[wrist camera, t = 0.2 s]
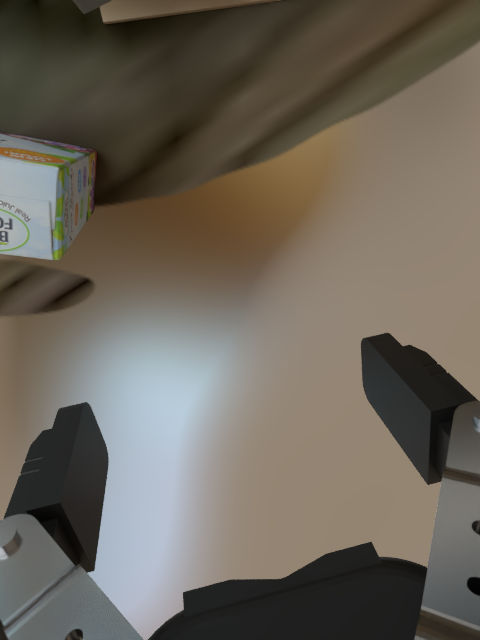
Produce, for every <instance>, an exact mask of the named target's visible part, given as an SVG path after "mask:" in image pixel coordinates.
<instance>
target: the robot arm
mask: <svg viewBox="0 0 480 640" xmlns="http://www.w3.org/2000/svg"><path fill="white" fill-rule="evenodd" d="M361 356H362V376H363V377H362V378H363V387H364V391H365V394H366V396H367V399H368V401H369V403H370V404H371V405H372V407H373V408H374V410H375V411H376V413H377V414H378V415H379V417H380V418H381V420H382V421H383V422H384V424H385V425H386V427H387V428H388V429H389V431H390V432H391V434H392V435H393V437H394V438H395V439H396V441H397V442H398V443H399V445H400V446H401V448H402V449H403V451H404V452H405V453H406V455H407V456H408V458H409V459H410V461H411V462H412V463H413V465H414V466H415V467H416V469H417V470H418V472H419V473H420V475H421V476H422V477H423V479H424V480H425V482H426V483H427V484H428V485H429V484H433V483H437V482H441V487H440V493H439V499H438V506H437V512H436V518H435V525H434V531H433V537H432V543H431V550H430V556H429V562H428V568H427V567H425V566H422V565H420V564H417V563H414V562H411V561H407V560H403V559H398V558H391V557H379V556H378V554H377V552H376V550H375V548H374V546H373V544H372V542H369V543H365V544H361V545H358V546H354V547H350V548H346V549H343V550H339V551H335V552H331V553H328V554H325V555H323V556H322V557H320V558H318V559H316V560H315V561H313V562H311V563H309V564H308V565H306V566H305V567H303V568H301V569H299V570H297V571H296V572H294V573H292V574H290V575H289V576H287V577H285V578H282V579H262V580H261V579H256V580H255V579H253V580H252V579H250V580H227V581H224V582H220V583H216V584H212V585H209V586H206V587H202V588H198V589H194V590H190V591H186V592H183V599H184V610H183V611H181V612H179V613H177V614H176V615H174V616H173V617H172V618H170V619H169V620H168V621H166V622H165V623H164V624H163V625H162V626H161V627H160V628H158V629H157V630H156V631H155V632H154V634H153V635H152V636H151V637H150V638H149V639H148V640H480V401H478V400H477V399H476V398H475V397H474V396H473V395H472V394H471V393H470V392H469V391H467V390H466V389H465V388H464V387H463V386H462V385H461V384H460V383H459V382H458V381H457V380H455V379H454V378H453V377H452V376H451V375H450V374H449V373H446V370H445V369H444V368H443V367H442V366H441V365H439V364H437V362H436V361H435V360H434V359H433V358H432V357H431V356H430V355H429V354H428V353H426V352H425V351H422V350H420V349H418V348H416V347H413V346H411V345H407V346H402V345H401V344H400V343H399V342H398V341H397V340H396V339H395V338H394V337H393V336H392V335H391V334H389V333H384V334H380V335H376V336H371V337H367V338H363V339H362V342H361ZM107 471H108V452H107V447H106V444H105V441H104V439H103V436H102V434H101V431H100V429H99V426H98V424H97V421H96V419H95V416H94V414H93V411H92V409H91V407H90V405H89V404H88V403H87V402H85V403H81V404H76V405H72V406H68V407H64V408H60V409H59V410H58V412H57V415H56V418H55V421H54V425H53V428H52V429H49V430H44V431H42V433H41V434H40V435H39V436H38V437H37V439H36V440H35V441H34V442H33V443H32V444H31V446H30V448H29V451H28V454H27V457H26V459H25V463H24V465H23V467H22V470H21V476H19V478H18V481H17V484H16V487H15V489H14V492H13V494H12V497H11V500H10V503H9V506H8V508H7V511H6V513H5V516H4V519H3V520H1V521H0V640H143V639H142V637H141V636H140V635H139V634H138V633H137V631H136V630H135V629H134V628H133V627H132V626H131V624H130V623H129V622H128V621H127V620H126V619H125V617H124V616H123V615H122V614H121V613H120V611H119V610H118V609H117V608H116V607H115V605H114V604H113V603H112V602H111V601H110V600H109V598H108V597H107V596H106V595H105V594H104V592H103V591H102V590H101V589H100V588H99V587H98V585H97V584H96V583H95V582H94V581H93V579H92V578H91V577H90V576H89V575H88V574H87V572H91V571H94V569H95V561H96V554H97V546H98V539H99V531H100V524H101V516H102V508H103V501H104V494H105V486H106V479H107Z"/></svg>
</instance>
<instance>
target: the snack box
mask: <svg viewBox="0 0 480 640" xmlns="http://www.w3.org/2000/svg"><path fill="white" fill-rule="evenodd" d="M96 158H97V151H96V150H95V149H92V148H86V147H81V146H76V145H71V144H65V143H60V142H55V141H49V140H43V139H38V138H32V137H27V136H21V135H15V134H10V133H4V132H0V254H6V255H15V256H24V257H32V258H41V259H48V260H60V259H61V258H62V256H63V255H64V254H65V252H66V251H67V249H68V248H69V246H70V245H71V243H72V242H73V241H74V239H75V238H76V236H77V235H78V233H79V232H80V230H81V229H82V227H83V226H84V224H85V223H86V222H87V220H88V219H89V217H90V216H91V214H92V213H93V211H94V195H95V175H96Z"/></svg>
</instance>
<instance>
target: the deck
mask: <svg viewBox="0 0 480 640" xmlns="http://www.w3.org/2000/svg"><path fill="white" fill-rule="evenodd" d="M275 1H283V0H112V1H110V2H108V3H106V4H104V5H102V6H100V10H101V14H102V19H103V23H104V24H112V23H119V22H127V21H134V20H142V19H149V18H156V17H164V16H171V15H179V14H186V13H194V12H201V11H208V10H216V9H223V8H231V7H238V6H245V5H253V4H260V3H268V2H275Z"/></svg>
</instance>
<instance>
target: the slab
mask: <svg viewBox="0 0 480 640" xmlns="http://www.w3.org/2000/svg"><path fill="white" fill-rule="evenodd" d="M73 1H74V3H75V4H76V5H77V6H78V8H79V9H80V10H81V11H82V13H83V14H86V13H88V12H90V11H92V10H94V9H96V8H98V7H100V6H102V5H104V4H106V3H108V2H110V1H112V0H73Z"/></svg>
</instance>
